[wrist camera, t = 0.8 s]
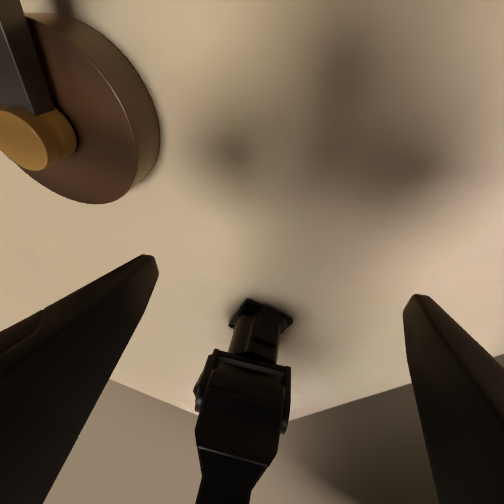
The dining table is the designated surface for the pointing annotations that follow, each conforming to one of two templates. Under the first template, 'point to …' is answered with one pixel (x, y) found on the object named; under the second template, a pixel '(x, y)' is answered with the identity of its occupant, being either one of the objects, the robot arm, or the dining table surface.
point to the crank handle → (27, 99)
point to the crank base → (94, 111)
